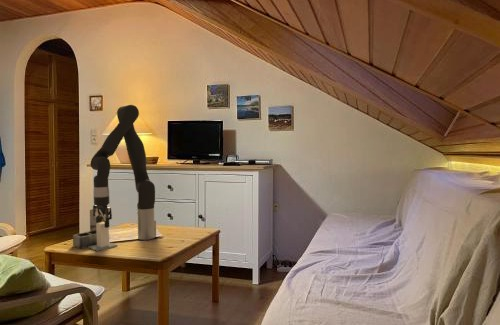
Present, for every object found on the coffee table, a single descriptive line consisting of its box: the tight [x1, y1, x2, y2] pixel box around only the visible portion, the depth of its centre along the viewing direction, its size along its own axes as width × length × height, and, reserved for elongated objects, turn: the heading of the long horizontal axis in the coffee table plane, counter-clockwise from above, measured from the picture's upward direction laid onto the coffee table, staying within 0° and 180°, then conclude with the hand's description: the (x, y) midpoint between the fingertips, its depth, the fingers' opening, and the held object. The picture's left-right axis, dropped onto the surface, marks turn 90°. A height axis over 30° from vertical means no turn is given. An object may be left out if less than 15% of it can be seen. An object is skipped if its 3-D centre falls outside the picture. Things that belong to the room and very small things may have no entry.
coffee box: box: [89, 208, 105, 231], centre depth 220 cm, size 9×6×16 cm
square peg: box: [96, 222, 110, 247], centre depth 198 cm, size 4×4×12 cm
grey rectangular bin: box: [72, 230, 97, 250], centre depth 203 cm, size 14×8×6 cm, turn 140°
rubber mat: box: [88, 241, 118, 252], centre depth 199 cm, size 11×9×1 cm
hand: (102, 226), depth 198 cm, fingers open, 8 cm apart
